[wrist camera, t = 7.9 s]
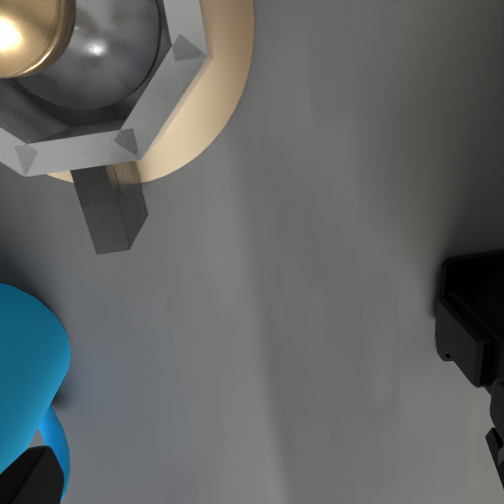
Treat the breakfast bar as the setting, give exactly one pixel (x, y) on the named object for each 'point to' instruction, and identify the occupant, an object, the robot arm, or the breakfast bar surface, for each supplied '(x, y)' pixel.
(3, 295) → the mug
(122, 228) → the grey piece
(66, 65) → the plunger
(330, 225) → the breakfast bar surface
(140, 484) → the breakfast bar surface
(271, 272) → the breakfast bar surface
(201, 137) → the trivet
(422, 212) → the breakfast bar surface
